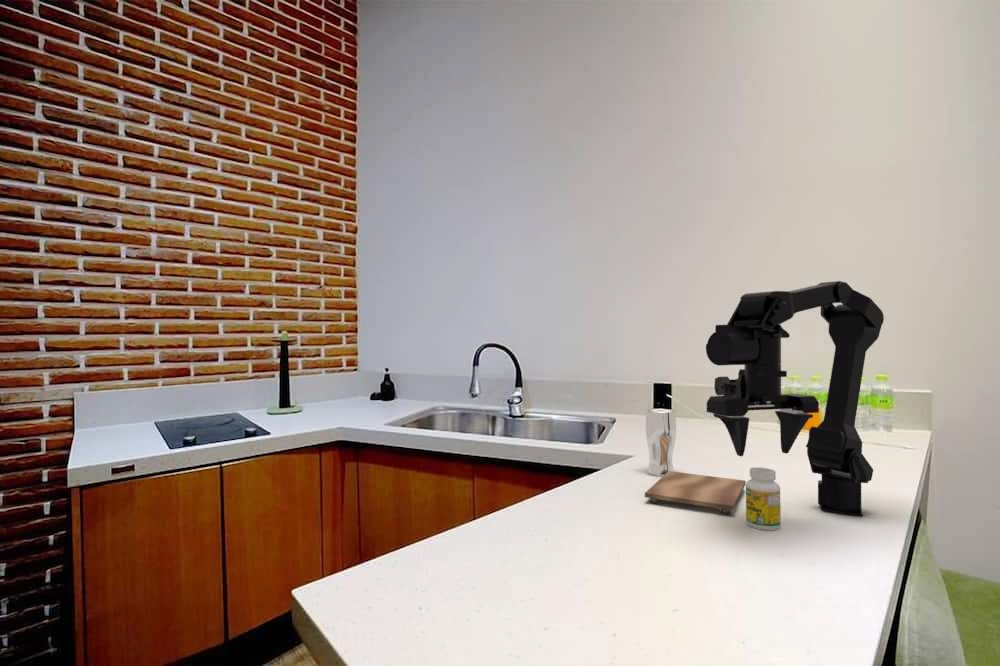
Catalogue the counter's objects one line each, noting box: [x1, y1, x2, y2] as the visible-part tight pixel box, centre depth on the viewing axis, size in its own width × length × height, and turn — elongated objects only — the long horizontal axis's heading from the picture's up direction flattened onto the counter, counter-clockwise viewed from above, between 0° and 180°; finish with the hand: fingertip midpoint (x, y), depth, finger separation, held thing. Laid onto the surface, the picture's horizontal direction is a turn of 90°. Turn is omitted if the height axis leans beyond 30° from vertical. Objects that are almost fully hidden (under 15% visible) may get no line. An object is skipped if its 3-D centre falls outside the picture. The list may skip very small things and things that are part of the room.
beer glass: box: [645, 408, 677, 477], centre depth 129 cm, size 7×7×15 cm
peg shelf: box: [644, 471, 747, 516], centre depth 110 cm, size 16×20×2 cm
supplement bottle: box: [745, 466, 782, 531], centre depth 93 cm, size 5×5×10 cm
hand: (762, 454), depth 94 cm, fingers open, 9 cm apart
